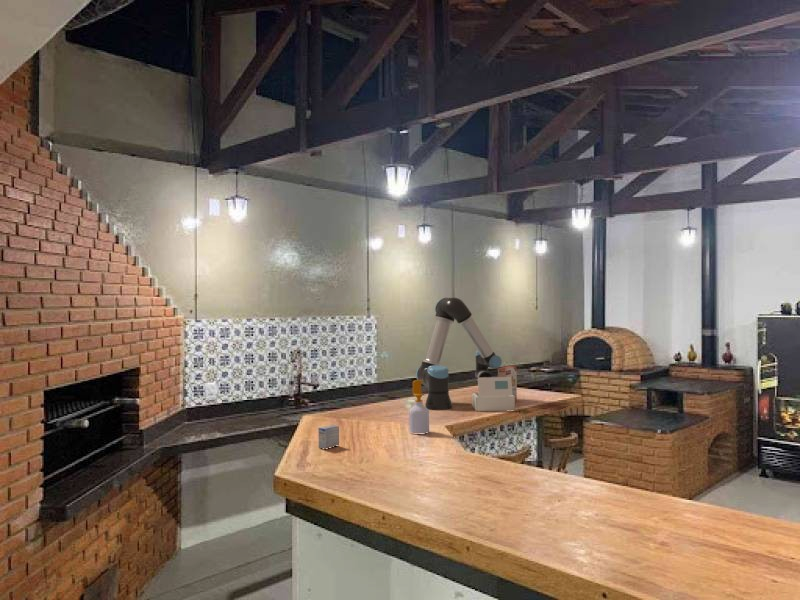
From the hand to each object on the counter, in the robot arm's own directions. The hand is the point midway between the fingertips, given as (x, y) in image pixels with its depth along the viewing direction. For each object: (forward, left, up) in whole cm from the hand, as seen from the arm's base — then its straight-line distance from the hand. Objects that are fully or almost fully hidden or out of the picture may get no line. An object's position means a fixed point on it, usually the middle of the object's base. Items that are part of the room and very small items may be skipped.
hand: (491, 383), depth 321 cm
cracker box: (+13, +21, -15) cm, 29 cm away
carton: (+1, +2, -15) cm, 15 cm away
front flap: (+1, -4, -1) cm, 5 cm away
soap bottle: (-43, -54, -15) cm, 70 cm away
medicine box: (-82, -78, -15) cm, 114 cm away
